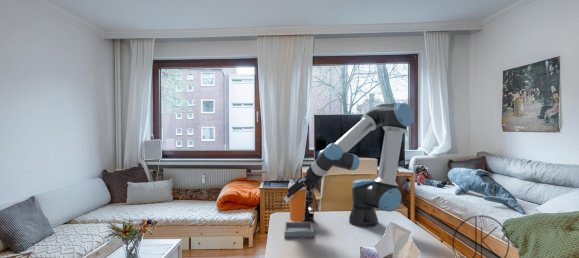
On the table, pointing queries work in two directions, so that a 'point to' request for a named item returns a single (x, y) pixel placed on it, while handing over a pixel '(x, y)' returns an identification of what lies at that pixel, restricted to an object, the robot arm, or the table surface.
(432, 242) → the table surface
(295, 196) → the shaker bottle
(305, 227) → the tray
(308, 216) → the french press
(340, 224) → the table surface
